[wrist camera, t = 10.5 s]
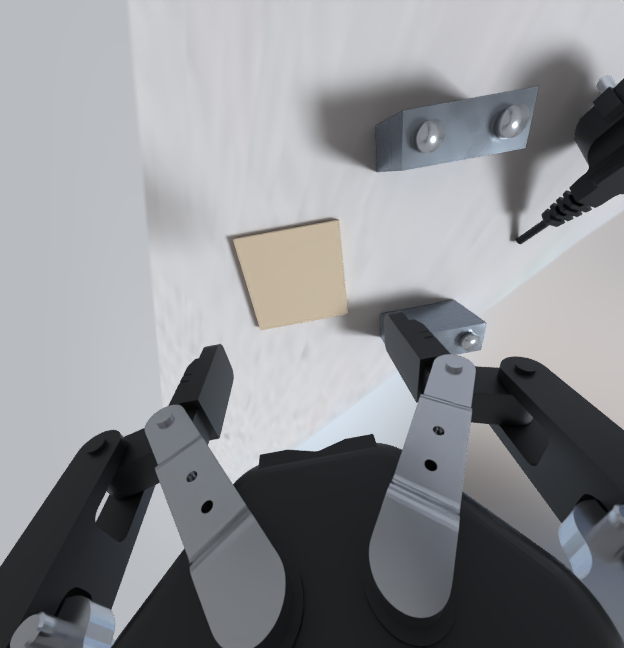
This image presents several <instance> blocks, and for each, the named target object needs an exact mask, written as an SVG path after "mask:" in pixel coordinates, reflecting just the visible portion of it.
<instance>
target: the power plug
mask: <svg viewBox="0 0 624 648" xmlns="http://www.w3.org/2000/svg"><path fill="white" fill-rule="evenodd" d="M596 87H597V89H598V91H599V92H600V94H601V95H600V96H599V97H598V98H597V99H595V100H594V101H593V103H594V105H595V106H594V107H593V108H592V109H590V110H589V111H588V112H587V113H586V114H585V115H584V116H583V117H582V118H581V119H580V121H579V123H578V125H577V127H576V130H575V141H576V143H577V145H578V147H579V148H580V150H581V152H582V154H583V156H584V158H585V159H586V161H587V163H588V165H589V169H588V171H587V172H586V173H585V174H584V175H583V176H581V177H580V178H579V179H578V180H577V181H576V182H575V183H574V184H573V185H572V186H571V187H570V190H571V192H570V191H565V192H564V193H563V197H564V198H562V197H559V198H558V199H557V200H556V202H557V204H556V203H553V204H552V205H551V206H550V209H547V210H545V211H544V212H543V213H542V218H543V220H542V221H541V222H540V223H538V224H537V225H535V226H534V227H532V228H531V229H530V230H528V231H527V232H525V233H524V234H523V235H521V236H520V237H518V238H517V239H516V242H517V243H518V244H522V243H524V242H525V241H527V240H528V239H530V238H531V237H533V236H534V235H535V234H537V233H538V232H540V231H541V230H543V229H544V228H546V227H547V226H549V225H551V226H555V227H557V226H560V225H562V224H564V223H565V221H564V220H566V221H570V220H572V219H573V216H575V217H578V216H580V215H582V212H581V211H583V212H588V211H590V210H591V207H595V208H596V207H598V206H600V205H602V204H603V203H605V202H606V201H608V200H610V199H611V198H613V197H614V196H617V195H619V194H624V79H623V80H622V81H621V82H620V83H618V84H617V83H616V82H615V80H614V79H613V78H612V76H610V75H607V76H604V77H602V78H601V79H600V80H599V81H598V83H597V85H596ZM590 206H591V207H590Z"/></svg>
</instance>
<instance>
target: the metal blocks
mask: <svg viewBox="0 0 624 648" xmlns="http://www.w3.org/2000/svg"><path fill="white" fill-rule="evenodd" d="M538 89H539V86H537V87H531V88H525V89H520V90H514V91H509V92H503V93H497V94H492V95H486V96H481V97H475V98H469V99H464V100H458V101H453V102H447V103H442V104H436V105H430V106H425V107H419V108H414V109H408V110H403V111H401V112H399V113H397V114H396V115H394V116H392V117H390V118H388V119H387V120H385V121H383V122H381V123H379V124H378V125H376V160H377V172H386V171H403V170H408V169H414V168H419V167H425V166H430V165H436V164H441V163H447V162H452V161H458V160H463V159H469V158H474V157H480V156H485V155H491V154H496V153H502V152H508V151H513V150H519V149H524V148H526V143H527V139H528V134H529V130H530V125H531V121H532V116H533V112H534V107H535V103H536V98H537V94H538ZM399 311H401V312H403V314H404V315H405V316H406V317H407V318H408V319H409V320H412V319H415V320H417V321H419V322H421V323H423V324H424V325H425V326H426V327H427V328H428V329H429V332H431V333H432V334H433V335H434V337H436V338H437V339H438V340H439V341H440V343H441V344H442V345H443V346H444V347H445V348H446V349H447V350H448V351H449V352H450V353H451V354H452V355H457V354H462V353H467V352H472V351H478V350H481V347H482V342H483V338H484V333H485V329H486V324H487V323H486V322H485V321H483V320H482V319H481V318H479V317H478V316H476V315H475V314H474V313H472V312H471V311H469V310H468V309H467V308H465V307H464V306H462V305H461V304H460V303H458V302H457V301H455V300H451V301H445V302H440V303H434V304H429V305H424V306H418V307H413V308H407V309H402V310H397V311H391V312H386V313H381V314H380V332H381V338H382V340H383V342H384V343H385V333H384V317H385V314H389V313H394V312H399Z"/></svg>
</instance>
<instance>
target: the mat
mask: <svg viewBox="0 0 624 648" xmlns="http://www.w3.org/2000/svg"><path fill="white" fill-rule="evenodd" d="M233 241H234V245H235V248H236V251H237V255H238V258H239V261H240V264H241V268H242V271H243V274H244V278H245V281H246V284H247V288H248V291H249V294H250V297H251V301H252V304H253V307H254V311H255V314H256V317H257V320H258V324H259V327H260V330H265V329H270V328H275V327H281V326H286V325H292V324H297V323H302V322H308V321H313V320H318V319H324V318H329V317H335V316H340V315H345V314H348V309H347V299H346V288H345V278H344V267H343V257H342V247H341V236H340V226H339V220H338V219H337V220H332V221H326V222H321V223H316V224H310V225H305V226H299V227H294V228H288V229H283V230H277V231H272V232H266V233H261V234H255V235H250V236H244V237H239V238H234V239H233Z"/></svg>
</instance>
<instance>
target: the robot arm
mask: <svg viewBox="0 0 624 648" xmlns="http://www.w3.org/2000/svg"><path fill="white" fill-rule="evenodd" d="M384 333H385V346H386V350H387V352H388V354H389V356H390V358H391V359H392V361H393V363H394V364H395V366H396V368H397V370H398V371H399V373H400V375H401V377H402V378H403V380H404V382H405V383H406V385H407V387H408V389H409V390H410V392H411V394H412V396H413V397H414V399H415V401H416V402H418V404H417V407H416V410H415V413H414V416H413V419H412V422H411V425H410V428H409V432H408V435H407V438H406V441H405V444H404V447H403V450H401V449H399V448H397V447H394V446H391V445H387V444H382V443H376V441H375V438H374V435H373V434H370V435H364V436H360V437H354V438H349V439H344V440H342V441H340V442H338V443H336V444H333V445H331V446H329V447H327V448H324V449H322V450H320V451H315V452H313V451H298V450H284V451H278V452H273V453H267V454H262V455H260V459H259V465H258V466H256V467H254V468H252V469H250V470H249V471H247V472H246V473H245V474H243V475H242V476H241V477H240V478H239V479H238V480H237V481H236V482H235V483H234V484H232V482H231V481H230V479H229V478H228V476H227V475H226V473H225V472H224V470H223V468H222V467H221V465H220V464H219V462H218V461H217V459H216V458H215V456H214V454H213V453H212V451H211V450H210V448H209V447H208V443H209V440H214V439H219V438H220V434H221V430H222V426H223V422H224V418H225V413H226V409H227V405H228V401H229V397H230V392H231V388H232V384H233V379H234V376H233V370H232V367H231V364H230V362H229V360H228V357H227V355H226V352H225V350H224V348H223V346H222V345H221V344H218V345H213V346H207V347H204V349H203V351H202V353H201V355H200V357H199V358H198V359H195V360H194V361H193V362H192V363H191V364H190V365H189V366H188V367H187V369H186V371H185V373H184V377H182V379H181V381H180V384H179V385H178V387H177V389H176V391H175V393H174V395H173V397H172V400H171V402H170V404H169V406H167V407H165V408H163V409H161V410H159V411H158V412H156V413H155V414H154V415H153V416H152V417H151V418H150V419H149V420H148V422H147V423H146V425H145V428H144V429H141V430H139V431H137V432H134V433H132V434H130V435H127V436H125V437H123V436H122V435H121V434H120V432H119V431H117V430H109V431H105V432H103V433H101V434H99V435H97V436H95V437H93V438H92V439H90V440H89V441H88V442H87V443H86V444H85V445H83V446H82V448H81V449H80V450H79V451H78V453H77V454H76V455H75V457H74V458H73V460H72V461H71V463H70V464H69V466H68V467H67V469H66V470H65V472H64V473H63V475H62V476H61V478H60V479H59V481H58V482H57V484H56V485H55V487H54V488H53V490H52V491H51V492H50V494H49V495H48V497H47V498H46V500H45V501H44V503H43V504H42V506H41V507H40V509H39V510H38V512H37V513H36V515H35V516H34V518H33V519H32V521H31V522H30V524H29V525H28V527H27V528H26V530H25V531H24V533H23V534H22V535H21V537H20V539H19V540H18V542H17V543H16V544H15V546H14V547H13V549H12V550H11V552H10V553H9V555H8V556H7V558H6V559H5V561H4V562H3V564H2V565H1V566H0V648H624V430H623V429H622V428H620V427H619V426H618V425H617V424H615V423H614V422H613V421H612V420H610V419H609V418H608V417H607V416H606V415H604V414H603V413H602V412H601V411H599V410H598V409H597V408H596V407H594V406H593V405H592V404H591V403H590V402H588V401H587V400H586V399H585V398H583V397H582V396H581V395H580V394H578V393H577V392H576V391H575V390H573V389H572V388H571V387H570V386H568V385H567V384H566V383H565V382H564V381H562V380H561V379H560V378H559V377H557V376H556V375H555V374H554V373H553V372H551V371H550V370H549V369H548V368H546V367H545V366H544V365H542V364H541V363H539V362H537V361H535V360H532V359H529V358H524V357H508V358H505V359H504V360H502V362H501V364H500V367H499V368H492V367H476V366H474V364H473V363H472V362H471V361H470V360H468V359H466V358H464V357H462V356H458V355H452V354H451V353H450V352H449V351H448V350H447V349H446V348H445V347H444V346H443V345H442V344H441V343H440V341H439V340H438V339H437V338H436V337H434V335H433V334H432V333H431V332H429V329H428V328H427V327H426V326H425V325H424V324H423V323H421V322H419V321H417V320H415V319H412V320H409V319H408V318H407V317H406V316H405V315H404V314H403V312H401V311H399V312H394V313H389V314H385V317H384ZM471 422H474V423H484V424H489V425H490V426H491V428H492V429H493V430H494V432H495V433H496V434H497V436H498V437H499V438H500V440H501V441H502V443H503V444H504V445H505V447H506V448H507V449H508V451H509V452H510V453H511V455H512V456H513V458H514V459H515V460H516V462H517V463H518V464H519V466H520V467H521V468H522V470H523V471H524V473H525V474H526V475H527V477H528V478H529V479H530V481H531V482H532V483H533V485H534V486H535V488H536V489H537V490H538V492H539V493H540V494H541V496H542V497H543V498H544V500H545V501H546V502H547V504H548V505H549V507H550V508H551V509H552V511H553V512H554V513H555V515H556V516H557V517H558V519H559V520H560V522H561V523H562V524H561V526H560V528H559V540H560V543H561V545H562V548H563V549H564V551H565V553H566V555H567V557H568V558H569V560H570V563H571V565H572V569H573V572H571V570H570V569H568V568H567V567H566V566H565V565H564V564H562V563H561V562H560V561H559V560H557V559H556V558H555V557H554V556H552V555H551V554H550V553H548V552H547V551H545V550H544V549H543V548H541V547H540V546H538V545H537V544H536V543H534V542H533V541H531V540H530V539H528V538H527V537H526V536H524V535H523V534H522V533H520V532H519V531H517V530H516V529H515V528H513V527H512V526H510V525H509V524H508V523H506V522H505V521H503V520H502V519H500V518H499V517H498V516H496V515H495V514H493V513H492V512H490V511H489V510H488V509H486V508H485V507H484V506H482V505H481V504H479V503H478V502H477V501H475V500H474V499H472V498H471V497H469V496H468V495H467V494H465V493H464V492H462V488H463V481H464V473H465V465H466V457H467V448H468V441H469V433H470V425H471ZM158 483H160V484H161V487H162V489H163V492H164V495H165V498H166V500H167V503H168V505H169V508H170V510H171V513H172V516H173V519H174V521H175V524H176V527H177V529H178V532H179V534H180V537H181V540H182V543H183V545H184V550H183V551H182V552H181V554H180V555H179V556H178V558H177V559H176V560H175V562H174V563H173V565H172V566H171V567H170V568H169V570H168V571H167V572H166V574H165V575H164V576H163V578H162V579H161V580H160V582H159V583H158V585H157V586H156V587H155V588H154V590H153V591H152V593H151V594H150V595H149V596H148V598H147V599H146V600H145V602H144V603H143V604H142V606H141V607H140V608H139V610H138V611H137V612H136V614H135V615H134V616H133V618H132V619H131V620H130V622H129V623H128V624H127V626H126V627H125V629H124V630H123V631H122V632H121V634H120V635H119V636H118V638H117V639H116V641H115V642H114V639H113V635H114V630H115V617H114V614H113V612H112V611H111V609H112V606H113V603H114V600H115V598H116V595H117V592H118V589H119V586H120V584H121V581H122V578H123V575H124V572H125V569H126V566H127V564H128V561H129V558H130V555H131V552H132V550H133V546H134V544H135V541H136V538H137V535H138V533H139V530H140V527H141V524H142V521H143V518H144V515H145V513H146V510H147V507H148V504H149V502H150V499H151V496H152V493H153V490H154V487H155V485H156V484H158ZM106 491H107V492H108V493H109V494H110V495H109V497H108V499H107V501H106V503H105V505H104V507H103V509H102V511H101V513H100V515H99V517H98V519H97V521H96V522H95V516H96V512H97V509H98V507H99V505H100V503H101V501H102V499H103V497H104V495H105V493H106Z"/></svg>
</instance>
